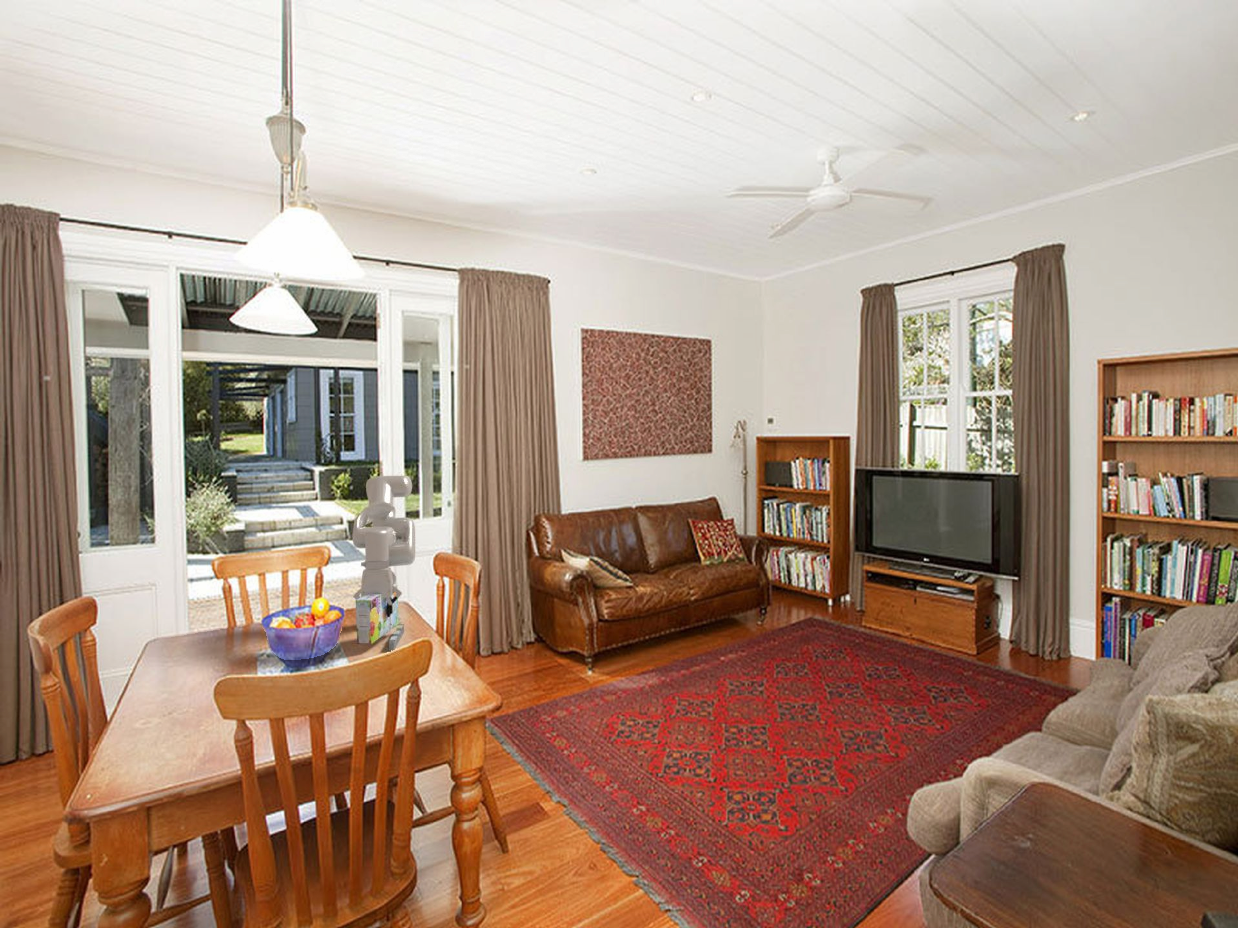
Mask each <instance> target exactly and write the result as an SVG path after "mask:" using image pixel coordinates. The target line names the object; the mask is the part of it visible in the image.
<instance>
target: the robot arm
mask: <svg viewBox="0 0 1238 928" xmlns="http://www.w3.org/2000/svg"><path fill="white" fill-rule="evenodd" d="M365 488H366V489H365V491H366V495H367V496H366V497H367V499H368V505H367V506H366V507H365V508H363V510H361V511H360V513H358V514H357V516H356V518H355V519H354V524H353V529H352V543H353V546H354V547H355V548H357V549H364V550H365V552H364V553H365V555H364V556H365V561H362V562H361V563H360V566H361V567H364V568H365V569H363V570H362V575H361V583H360V584H361V585H360V589H359V590H358V591H357V592H355V593H354V594H353V598H354V599H355V601H356V600H357V599H359V598H361V597H362V596H364V595H366V594H372V593H382V598H383V599H386V600H387V602H388V606H387V617H390V616H391V614H392V613H393V603H394V602H395V601H396V600H397V599H398V600H399V598H400V596H402V594H403V593H402V591H401V590H399V588H398V587H397V588H396V587H395V586H393V584H397V576H396V574H395V572H393V570H392V568H391V567H400V566H410V565H412V564H413V563H414V561H415V559H416V527H415V523H414V520H413V519H412V518H410V517H396V513H397V511H396V508H395V506H394V498H409V496H410V495H411V494H412V489H413V482H412V479H411V477H410V476H408V475H381V476H379V475H378V476H373V477H370V478H369V479H367V481H366V484H365ZM370 523H372V526H367V525H370ZM394 592H395V593H396V596H395V597H394V598H393V599H392V597H391V596H392V595H393V593H394ZM360 595H361V596H360ZM398 618H399V624H402V619H401V618H400V617H399V616H398ZM399 624H398V625H399Z"/></svg>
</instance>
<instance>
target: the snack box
mask: <svg viewBox="0 0 1238 928" xmlns="http://www.w3.org/2000/svg"><path fill="white" fill-rule="evenodd" d="M393 586H395V587H396V588H397V589H398V584H397V583H396V584H393ZM395 596H396V593H395V592H394V593H393V595H392V596H391V597H392V599H393V598H394V597H395ZM360 597H361V596H360ZM387 606H388V602H387V600H386V599H383V598H382V593H372V594H366V595H364V596H362V597H361V598H359V599H357V600H356V599H355V620H356V622H355V623H356V642H357V643H356V644H357V645H373V644H374V643H375V642H376V641H378V640H379V639H380V638H381V637H383V636H384V635H386V634H387V633H389V632H391V630H393V629H394V628H395V627H396V628H397V626H398V625H399V618H400V617H399V598H398V599H397V600H396V601H395V602H394V603H393V613H392V614H391V616H390V617H387ZM398 617H399V618H398Z"/></svg>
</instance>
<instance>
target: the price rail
mask: <svg viewBox="0 0 1238 928" xmlns="http://www.w3.org/2000/svg"><path fill="white" fill-rule="evenodd" d="M404 633H405V624H404V623H400V624H398V625H397V626H396V630H394V632H393V633H392V634H393V635H392V636H391V637H389V642H388V651H389V652H392V651H391V650H394V649H396V648H397V646H398V644H399V642H400V640H401V639H402V637H403V635H404ZM394 651H395V650H394Z"/></svg>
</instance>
